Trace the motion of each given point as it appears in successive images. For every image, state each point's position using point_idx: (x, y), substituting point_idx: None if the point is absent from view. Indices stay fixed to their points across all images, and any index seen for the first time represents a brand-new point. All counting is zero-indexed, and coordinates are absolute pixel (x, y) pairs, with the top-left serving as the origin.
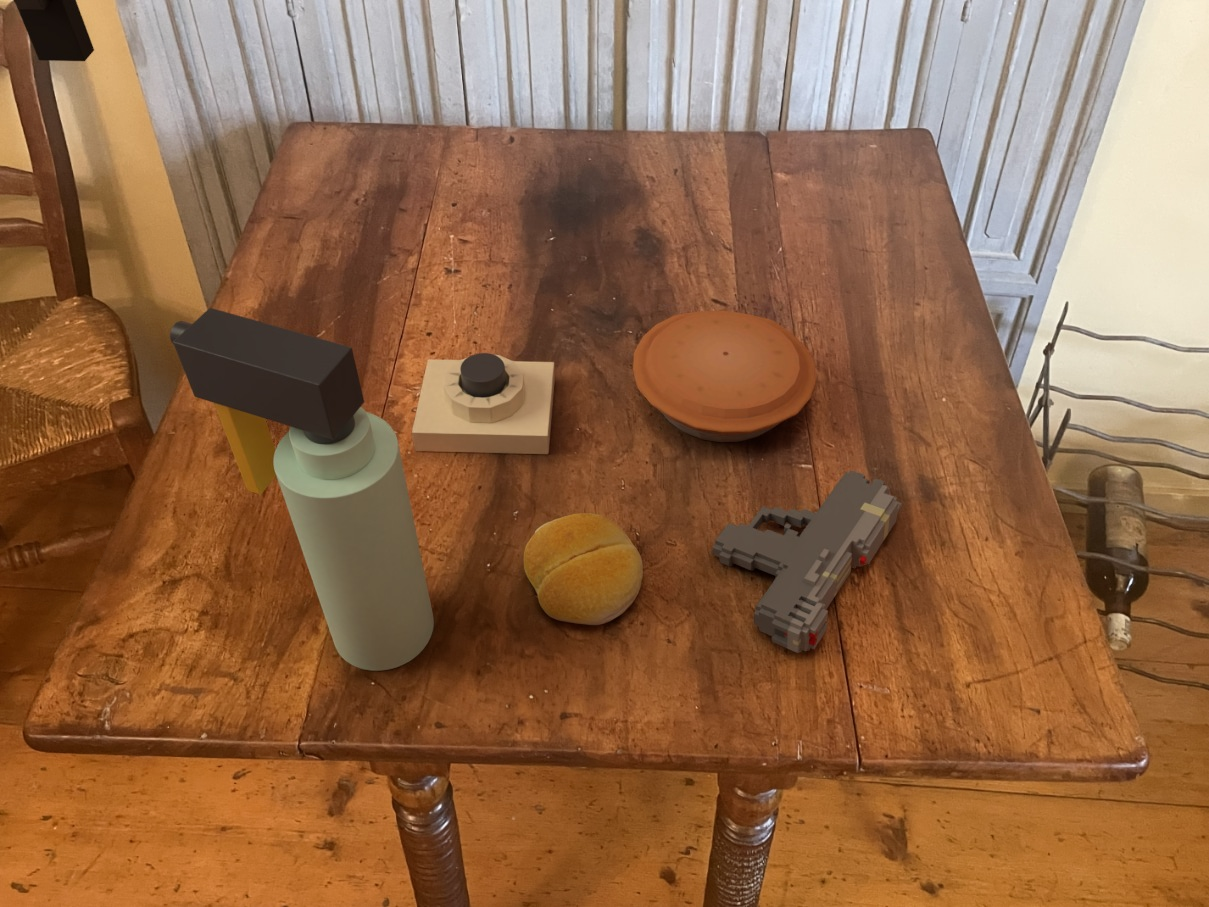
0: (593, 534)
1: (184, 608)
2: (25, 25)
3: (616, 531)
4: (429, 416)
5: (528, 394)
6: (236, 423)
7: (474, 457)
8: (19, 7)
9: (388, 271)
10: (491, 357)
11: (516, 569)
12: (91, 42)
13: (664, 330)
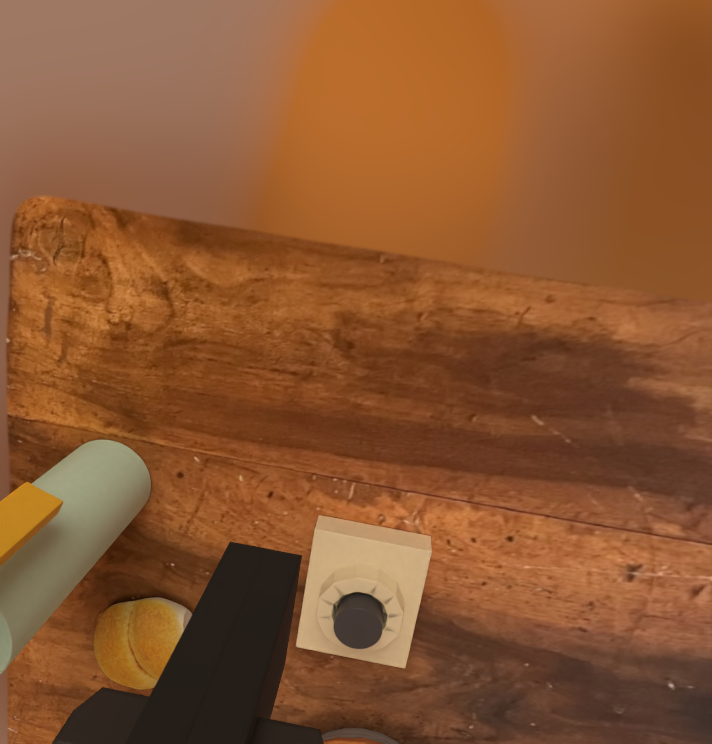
0: (151, 672)
1: (133, 306)
2: (198, 608)
3: None
4: (336, 547)
5: None
6: None
7: (304, 566)
8: (94, 696)
9: (653, 500)
10: (373, 638)
11: (166, 585)
12: (280, 679)
13: None
